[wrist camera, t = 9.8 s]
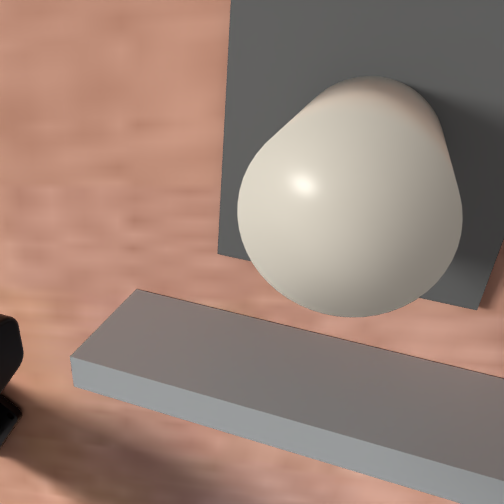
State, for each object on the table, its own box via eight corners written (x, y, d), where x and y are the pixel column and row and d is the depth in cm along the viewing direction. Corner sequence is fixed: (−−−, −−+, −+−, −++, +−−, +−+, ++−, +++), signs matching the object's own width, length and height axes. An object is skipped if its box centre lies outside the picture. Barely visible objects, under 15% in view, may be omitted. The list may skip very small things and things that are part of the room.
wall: (562, 393, 18) (610, 512, 14) (547, 420, 19) (589, 542, 14) (136, 289, 22) (69, 356, 18) (137, 315, 22) (73, 386, 18)
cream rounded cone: (370, 250, 17) (353, 351, 12) (263, 163, 17) (200, 229, 12) (480, 145, 15) (518, 217, 9) (357, 40, 14) (327, 57, 9)
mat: (475, 304, 17) (477, 310, 17) (220, 249, 20) (217, 253, 19) (589, -3, 13) (593, -3, 12) (236, -30, 15) (232, -31, 14)
